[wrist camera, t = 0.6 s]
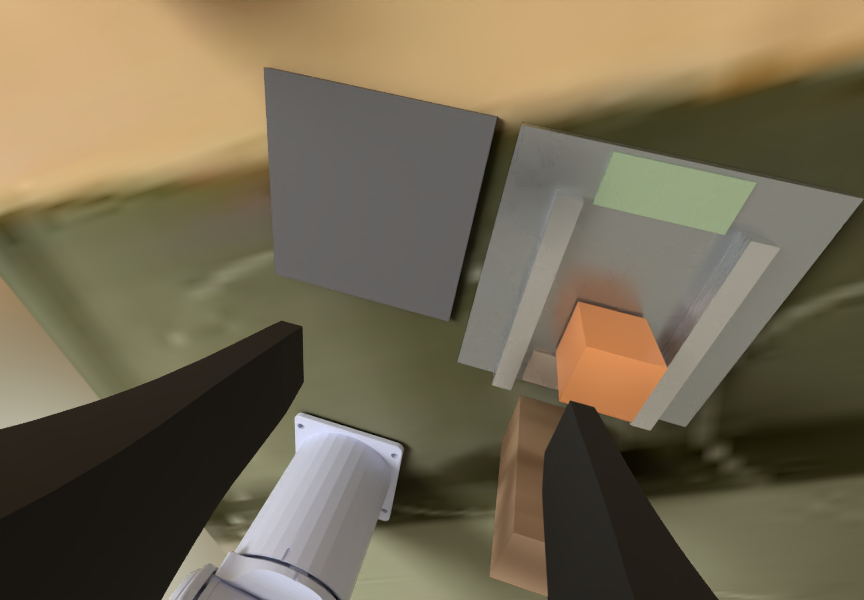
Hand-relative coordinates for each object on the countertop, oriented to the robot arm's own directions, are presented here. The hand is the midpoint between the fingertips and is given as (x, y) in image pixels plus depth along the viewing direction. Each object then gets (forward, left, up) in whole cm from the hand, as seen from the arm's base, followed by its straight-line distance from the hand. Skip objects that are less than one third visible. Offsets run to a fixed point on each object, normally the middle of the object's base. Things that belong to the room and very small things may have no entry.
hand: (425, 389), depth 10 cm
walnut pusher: (-10, -7, -10) cm, 16 cm away
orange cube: (-2, -7, -9) cm, 11 cm away
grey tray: (-1, -7, -10) cm, 12 cm away
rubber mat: (+1, +5, -10) cm, 11 cm away
